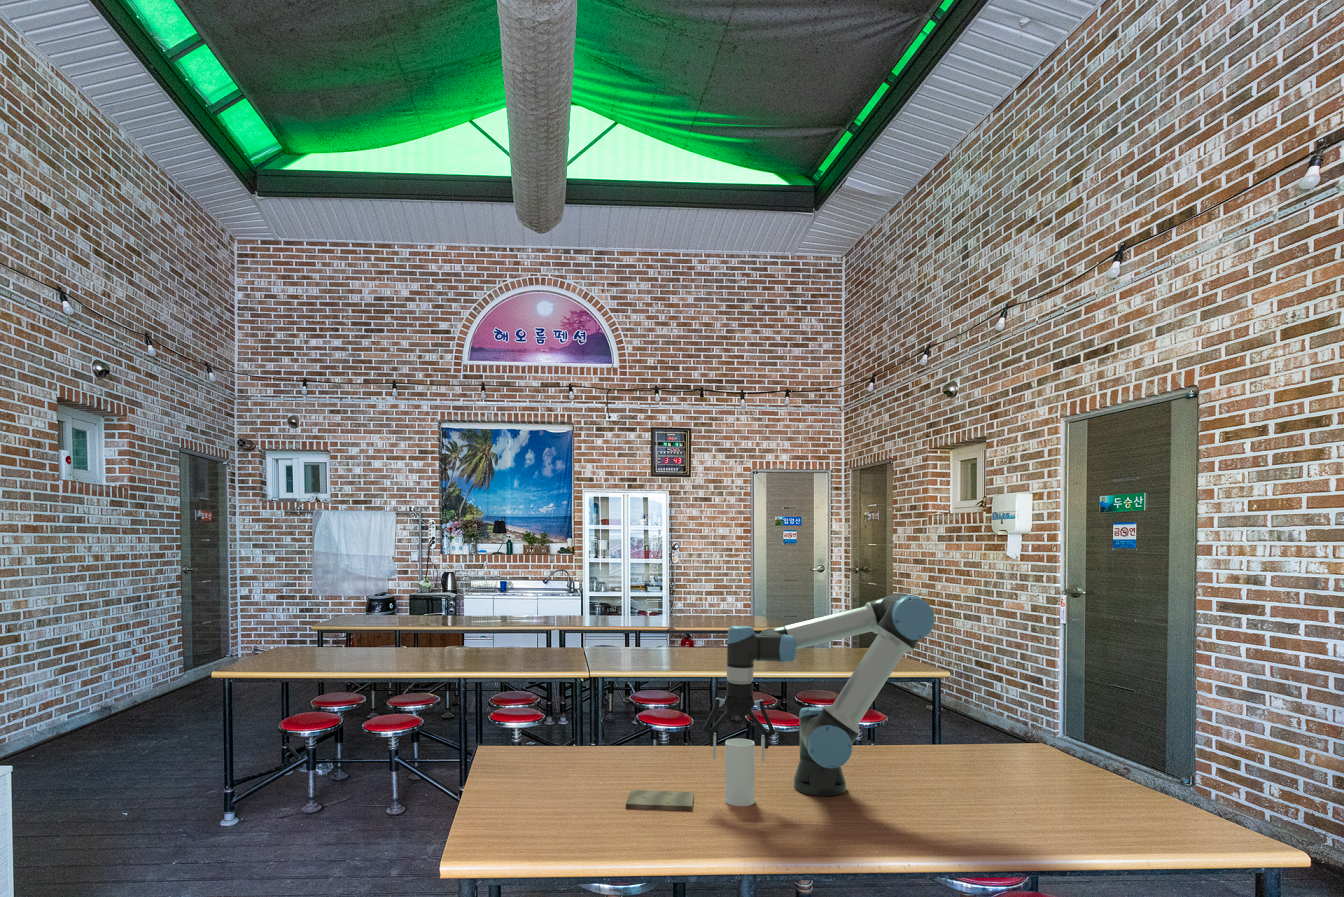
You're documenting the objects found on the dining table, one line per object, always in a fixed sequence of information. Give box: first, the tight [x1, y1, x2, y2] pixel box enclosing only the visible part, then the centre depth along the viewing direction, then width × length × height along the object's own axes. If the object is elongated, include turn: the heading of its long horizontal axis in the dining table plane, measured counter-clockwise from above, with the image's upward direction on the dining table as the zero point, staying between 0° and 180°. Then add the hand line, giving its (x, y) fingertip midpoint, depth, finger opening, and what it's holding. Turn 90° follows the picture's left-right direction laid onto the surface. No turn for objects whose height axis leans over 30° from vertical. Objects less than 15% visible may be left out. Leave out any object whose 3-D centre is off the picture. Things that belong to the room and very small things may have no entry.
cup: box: [724, 737, 756, 807], centre depth 215 cm, size 8×8×16 cm
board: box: [625, 789, 695, 812], centre depth 213 cm, size 18×12×1 cm, turn 87°
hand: (738, 759), depth 216 cm, fingers open, 13 cm apart
